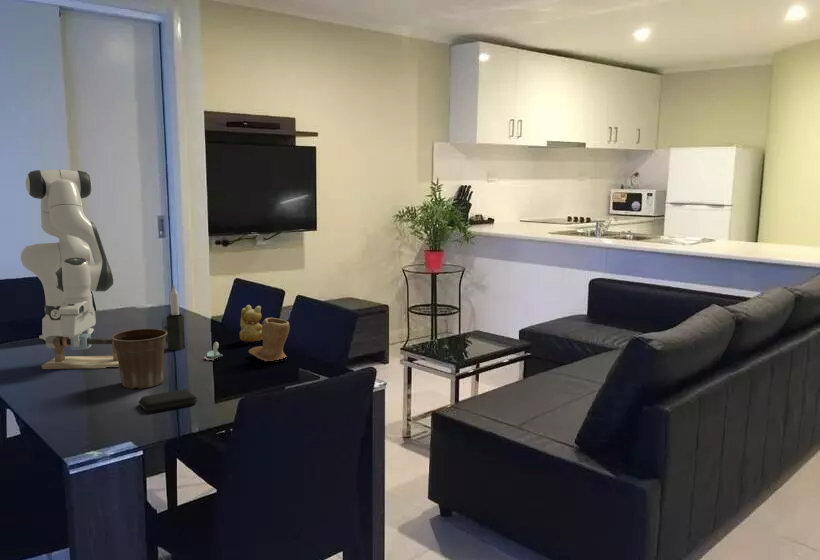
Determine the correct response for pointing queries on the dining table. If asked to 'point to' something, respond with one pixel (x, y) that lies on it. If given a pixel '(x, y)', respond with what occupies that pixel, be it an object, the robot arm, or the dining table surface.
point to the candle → (175, 324)
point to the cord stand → (78, 361)
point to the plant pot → (140, 357)
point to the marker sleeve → (83, 340)
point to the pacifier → (213, 352)
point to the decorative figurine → (251, 324)
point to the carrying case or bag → (167, 401)
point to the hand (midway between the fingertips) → (81, 344)
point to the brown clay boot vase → (272, 340)
